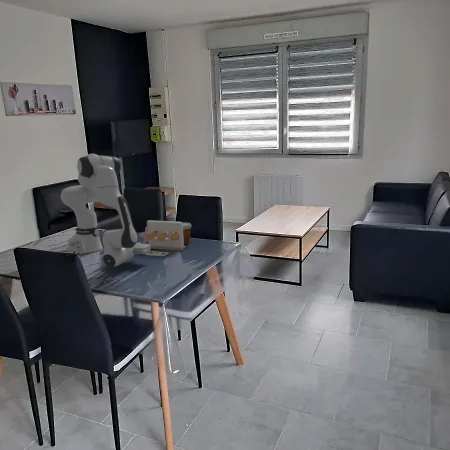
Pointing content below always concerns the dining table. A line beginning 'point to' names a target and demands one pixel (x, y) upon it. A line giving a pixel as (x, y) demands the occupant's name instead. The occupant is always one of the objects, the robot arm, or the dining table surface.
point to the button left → (151, 235)
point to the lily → (144, 235)
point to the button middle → (162, 236)
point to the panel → (167, 242)
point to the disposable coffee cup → (186, 232)
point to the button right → (174, 236)
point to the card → (157, 253)
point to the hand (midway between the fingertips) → (139, 243)
